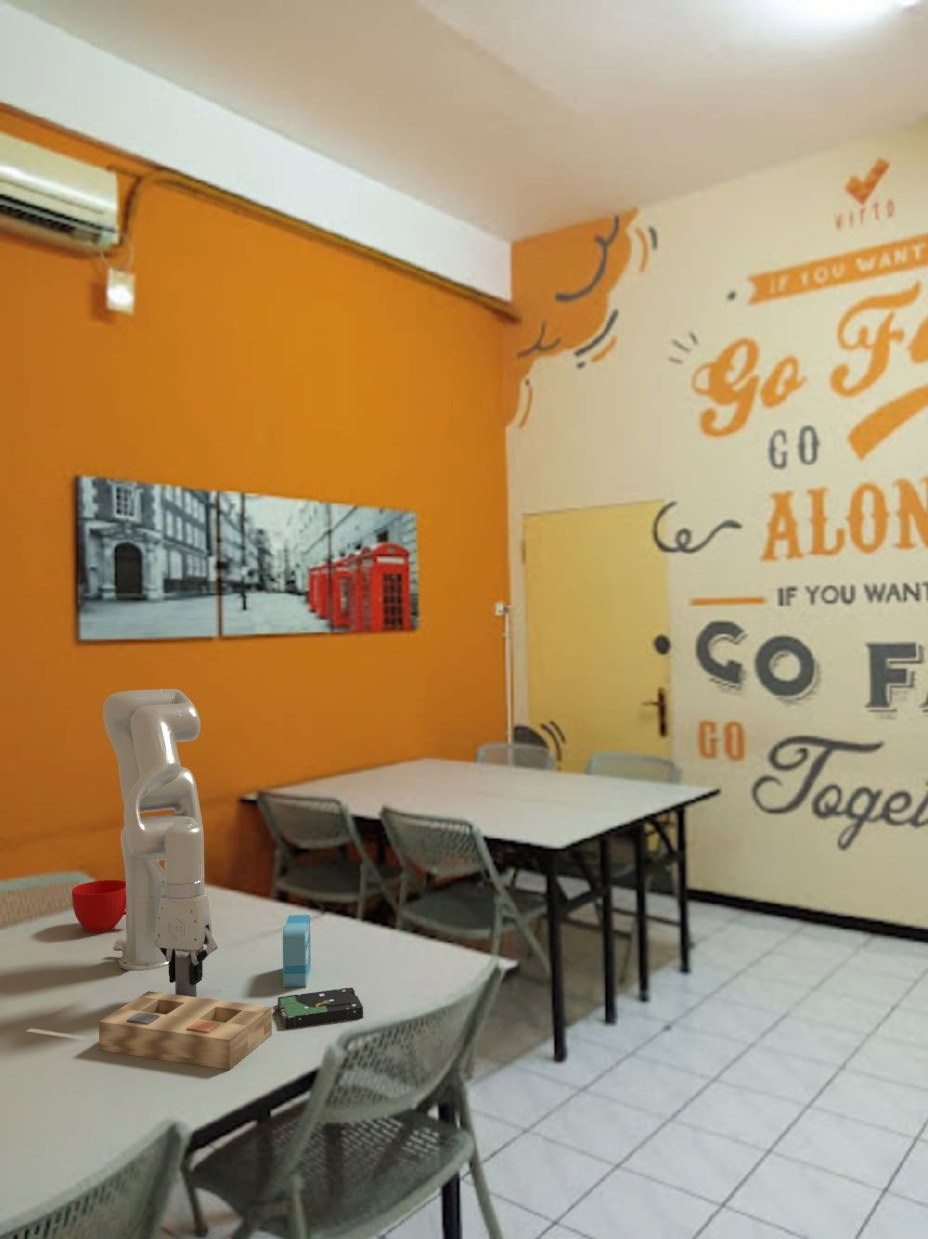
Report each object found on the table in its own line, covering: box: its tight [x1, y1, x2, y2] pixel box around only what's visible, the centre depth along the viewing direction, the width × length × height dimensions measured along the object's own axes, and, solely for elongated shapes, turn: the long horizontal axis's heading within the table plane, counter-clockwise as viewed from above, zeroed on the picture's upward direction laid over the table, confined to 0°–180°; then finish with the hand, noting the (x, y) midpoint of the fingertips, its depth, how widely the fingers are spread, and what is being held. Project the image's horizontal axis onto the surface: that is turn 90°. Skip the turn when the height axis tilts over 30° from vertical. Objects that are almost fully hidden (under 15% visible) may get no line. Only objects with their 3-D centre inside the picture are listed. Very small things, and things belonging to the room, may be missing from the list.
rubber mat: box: [166, 986, 223, 999], centre depth 188 cm, size 10×10×1 cm
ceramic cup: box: [71, 879, 126, 933], centre depth 233 cm, size 13×17×10 cm
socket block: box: [98, 990, 273, 1071], centre depth 170 cm, size 26×14×5 cm, turn 72°
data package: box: [282, 914, 312, 988], centre depth 199 cm, size 12×4×12 cm, turn 4°
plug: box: [174, 949, 197, 997], centre depth 188 cm, size 4×4×10 cm
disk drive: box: [277, 987, 364, 1030], centre depth 182 cm, size 10×3×15 cm
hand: (185, 980), depth 188 cm, fingers closed on plug, 4 cm apart
